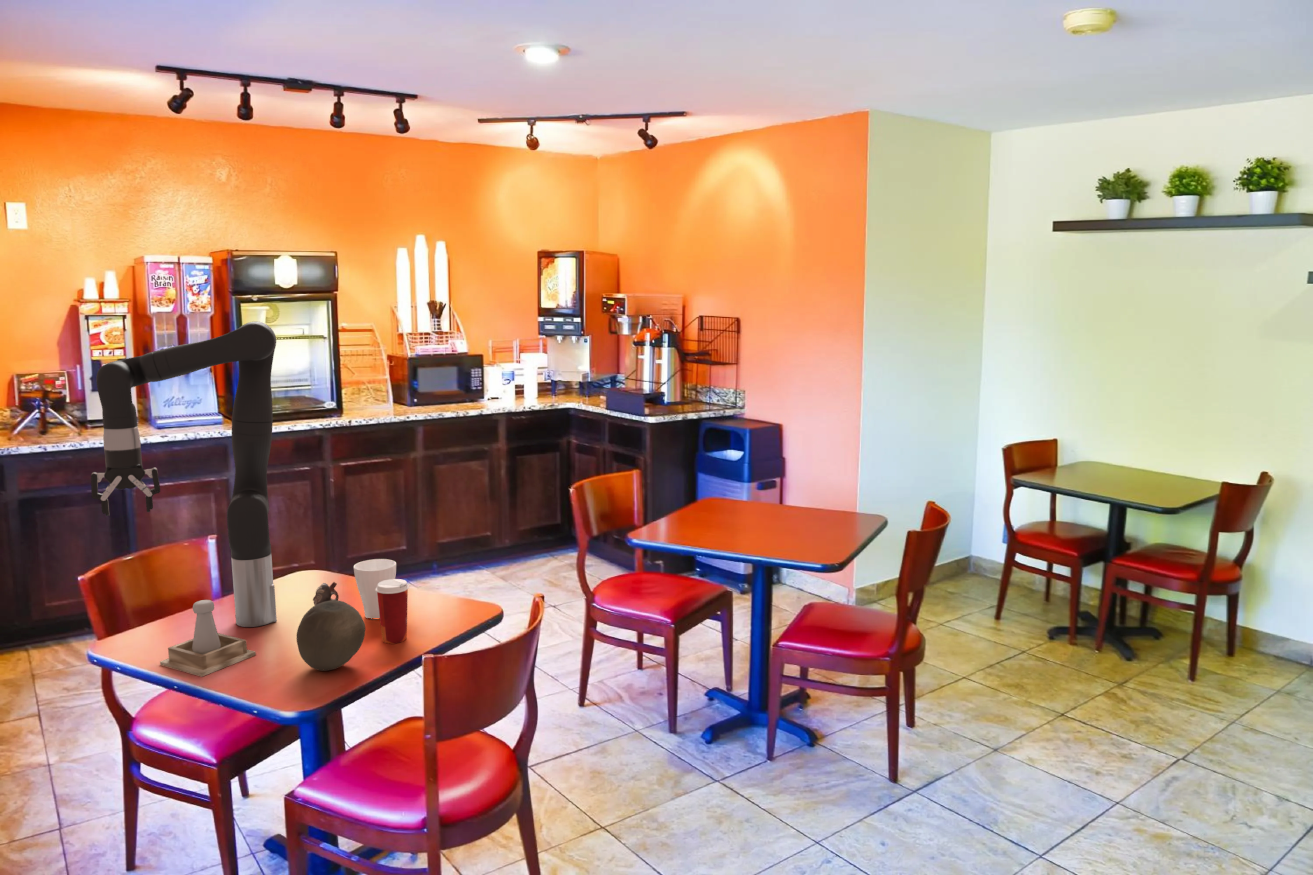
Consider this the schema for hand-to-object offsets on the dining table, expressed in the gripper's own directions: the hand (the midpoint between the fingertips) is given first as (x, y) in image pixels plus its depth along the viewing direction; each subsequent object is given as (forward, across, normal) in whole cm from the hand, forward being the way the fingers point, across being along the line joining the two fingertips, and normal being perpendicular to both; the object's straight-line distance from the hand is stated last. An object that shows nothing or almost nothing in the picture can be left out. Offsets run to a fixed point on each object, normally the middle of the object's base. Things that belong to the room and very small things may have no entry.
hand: (128, 513), depth 225 cm
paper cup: (+30, +54, -33) cm, 70 cm away
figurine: (+30, +41, -19) cm, 54 cm away
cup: (+30, +54, -14) cm, 63 cm away
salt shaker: (+30, +14, -26) cm, 42 cm away
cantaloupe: (+30, +38, -44) cm, 66 cm away
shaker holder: (+30, +14, -26) cm, 42 cm away
